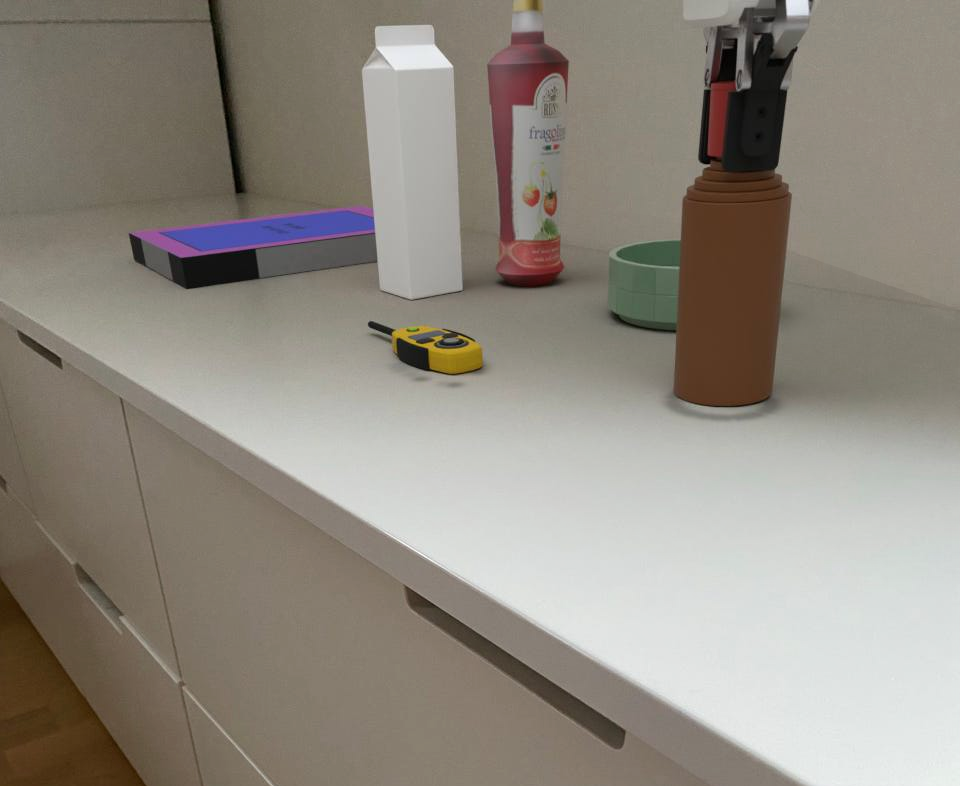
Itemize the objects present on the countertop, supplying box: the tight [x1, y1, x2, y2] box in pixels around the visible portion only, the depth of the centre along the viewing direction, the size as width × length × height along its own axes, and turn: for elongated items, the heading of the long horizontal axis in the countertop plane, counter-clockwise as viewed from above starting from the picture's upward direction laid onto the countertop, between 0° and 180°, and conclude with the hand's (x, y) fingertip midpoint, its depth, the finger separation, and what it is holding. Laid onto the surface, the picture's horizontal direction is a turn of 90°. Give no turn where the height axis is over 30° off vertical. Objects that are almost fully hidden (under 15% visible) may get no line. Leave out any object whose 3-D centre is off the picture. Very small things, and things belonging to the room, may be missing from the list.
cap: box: [708, 80, 737, 157], centre depth 57 cm, size 4×4×4 cm
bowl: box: [607, 238, 681, 332], centre depth 83 cm, size 13×13×5 cm
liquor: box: [486, 0, 570, 287], centre depth 90 cm, size 7×7×28 cm
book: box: [128, 205, 378, 290], centre depth 114 cm, size 21×3×30 cm
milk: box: [361, 24, 464, 301], centre depth 90 cm, size 6×6×22 cm
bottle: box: [673, 157, 793, 407], centre depth 61 cm, size 6×6×18 cm
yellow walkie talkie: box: [367, 320, 484, 375], centre depth 76 cm, size 5×2×15 cm
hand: (736, 163), depth 58 cm, fingers closed on cap, 3 cm apart
